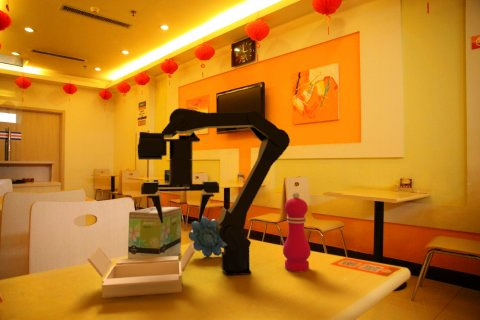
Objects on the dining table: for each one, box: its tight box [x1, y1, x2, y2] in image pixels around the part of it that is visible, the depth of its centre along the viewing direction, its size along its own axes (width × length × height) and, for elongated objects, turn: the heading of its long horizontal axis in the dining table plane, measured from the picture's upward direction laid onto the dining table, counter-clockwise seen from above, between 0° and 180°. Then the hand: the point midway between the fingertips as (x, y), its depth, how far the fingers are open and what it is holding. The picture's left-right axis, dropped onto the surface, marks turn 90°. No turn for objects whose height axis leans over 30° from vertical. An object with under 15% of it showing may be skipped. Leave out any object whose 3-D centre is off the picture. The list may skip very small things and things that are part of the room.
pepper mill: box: [282, 191, 312, 273], centre depth 85 cm, size 7×7×20 cm
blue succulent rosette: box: [188, 216, 227, 258], centre depth 95 cm, size 12×7×12 cm, turn 94°
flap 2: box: [180, 241, 196, 272], centre depth 74 cm, size 5×10×1 cm
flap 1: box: [86, 246, 113, 278], centre depth 71 cm, size 5×10×1 cm
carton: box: [101, 255, 183, 299], centre depth 72 cm, size 16×18×4 cm
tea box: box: [127, 206, 182, 264], centre depth 94 cm, size 15×10×15 cm, turn 168°
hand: (181, 222), depth 80 cm, fingers open, 9 cm apart
